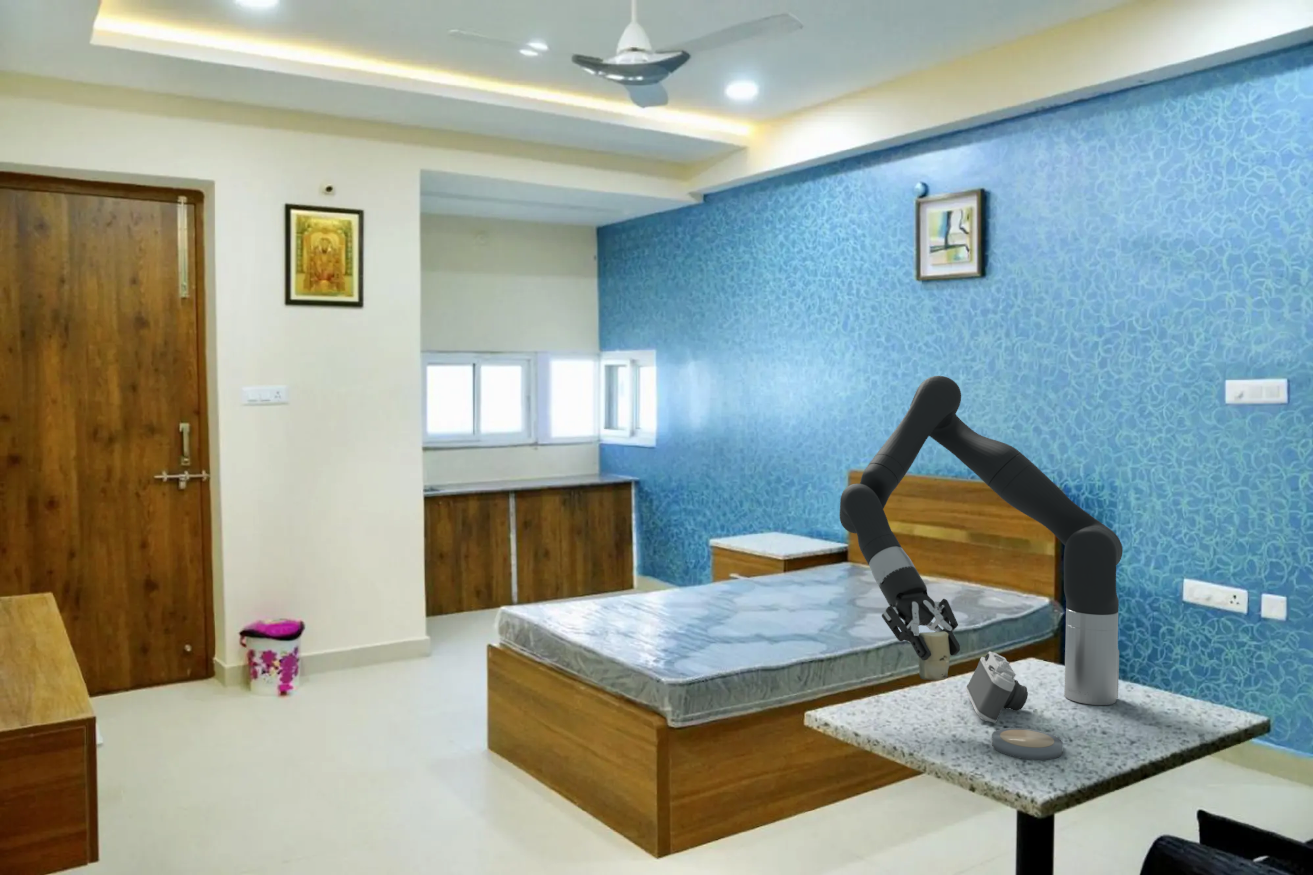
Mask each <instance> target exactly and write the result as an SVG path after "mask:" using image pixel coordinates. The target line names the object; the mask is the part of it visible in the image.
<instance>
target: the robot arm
mask: <svg viewBox="0 0 1313 875" xmlns="http://www.w3.org/2000/svg"><path fill="white" fill-rule="evenodd" d="M961 402H962V391H961V388H960V387H959V385H958V384H957V382H955V381H954V380H953V379H952V378H950V377H949V376H948V377H947V376H943V375H934V376H930V377H928V378H925V380H923V381H922V382H921V383H920V385H919V386H918V387H917V389H916V391H915V394H914V396H913V398H912V400H911V403H910V406H909V408H908V410H907V412H906V413H905V415H904V417H903V418H902V419H901V421H900V423H899V424H898V426H897V427H896V429H894V431H893V432H892V433H891V435H890V436H889V437H888V439H887V440H886V441H885V443H884V444H883V445H882V446H881V447H880V448H879V450H878V451H877V452H876V454H875V455H874V456H873V457H872V459H871V460H870V462H869V463H868V464H867V465H866V467H865V469H864V471H863V472H862V475H861V477H860V478H861V479H860V482H859V483H853V484H849V485H848V486H846V488H845V489H844V490H843V491H842V493H841V495H840V501H839V502H840V503H839V521H840V524H841V526H842V527H843V528H844V529H845V530H846V532H849V533H850V534H851V533H853V534H856V535H857V542H858V543H857V544H858V547H859V550H860V552H861V553H862V556H863V558H864V559H865V561H866V563H867V565H868V567H869V569H870V571H871V573H872V576H873V578H874V580H875V581H876V584H877V586H878V588H879V589H880V591H881V593H882V595H883V597H884V599H885V601H886V602H887V604H888V606H887V608H885V610H884V611H883V612H882V614H881V617H882V619H883V621H884V622H885V624H886V625H887V626H888V627H889V630H890V631H891V632H892V633H893V635H894V636H895V638H896V640H897V641H899V642H904V641H906V642H907V643H909V644H911V646H912V648H913V649H914V652H915V653H916V655H917V657H918V656H919V657H920V658H921V659H922V660H927V659H928V658H929V657H930V656H931V652H930V650H929V648H928V646H927V645H926V643H925V641H924V639H923V638H922V636H919V633H920V630H919V629H920V628H919V627H920V626H923V627H926V628H927V629H928V630H930V631H933V632H942V631H944V632H947V633H948V634H949V635H948V641H949V650H950V656H956V655H957V654H958V653H959V652H960V650H961V645H960V643H959V642H958V640H957V637H956V636H955V634H954V633H953V632H954V631H955V630H956V629H957V628H958V626H959V623H958V620H957V619H956V618H957V617H956V616H955V614H954V612H953V610H952V608H951V605H950V603H949V601H948V600H947V599H945V598H942V600H941V601H934V600H933V599H932V598H931V597H930V596H929V594H928V588H927V585H926V583H925V581H924V580H923V577H922V576H921V575H920V573H919V571H918V570H917V568H916V566H915V565H914V562H913V561H912V560H911V558H910V557H909V555H908V554H907V552H906V551H905V550H904V549H903V547H902V546H901V544H900V542H899V540H898V539H897V537H896V535H895V534H894V532H893V531H892V529H891V527H890V524H889V521H888V518H887V515H886V513H885V510H884V509H885V506H886V504H887V502H888V500H889V498H890V496H891V495H892V493H893V492H894V491H895V489H897V487H898V485H899V484H900V483H901V481H902V480H903V479H904V477H905V476H906V474H907V473H908V471H909V470H910V468H911V466H912V465H913V463H914V462H915V460H916V458H917V456H918V455H919V453H920V451H921V450H922V448H923V446H924V444H925V443H926V442H927V439H928V438H929V437H930V438H931V439H932V440H934V441H935V442H936V443H938V444H939V445H941V446H942V447H943V448H945V449H946V450H947V451H949V453H951V454H952V455H953V456H954V457H956V458H957V459H958V460H959V461H960V462H961V463H963V464H964V465H965V467H967V468H969V469H970V470H971V471H972V472H973V473H974V474H975V475H976V476H977V477H979V479H981V480H982V481H983V482H984V484H986V485H987V486H988V487H989V488H990V489H991V491H993V492H994V493H996V495H997V496H999V498H1001V499H1002V500H1003V501H1005V502H1006V503H1007V504H1008V505H1009V506H1011V507H1012V508H1014V509H1016V510H1017V511H1019V512H1021V513H1022V514H1024V515H1025V516H1027V517H1029V518H1030V519H1033V520H1034V521H1036V522H1038V523H1039V524H1040V525H1043V526H1044V527H1045V528H1046V529H1047V530H1048V531H1050V532H1051V533H1052V534H1053V535H1054V536H1055V537H1056V538H1057V539H1058V540H1060V542H1061V543H1062V544H1063V545H1064V551H1063V591H1064V595H1065V601H1066V602H1065V606H1066V608H1065V610H1066V611H1065V643H1064V644H1065V648H1064V650H1065V652H1064V688H1063V689H1064V692H1063V693H1064V697H1065V698H1066V699H1067V700H1070V701H1073V702H1076V703H1080V704H1085V705H1093V706H1106V705H1107V706H1108V705H1112V704H1116V703H1117V699H1118V698H1119V681H1120V680H1119V679H1120V677H1119V676H1120V675H1119V674H1120V670H1119V669H1120V650H1119V648H1118V647H1119V646H1118V645H1119V605H1120V603H1119V601H1120V599H1119V597H1118V594H1117V565H1118V564H1120V561H1121V560H1122V557H1123V550H1124V549H1123V546H1122V542H1121V540H1120V538H1119V536H1118V535H1117V534H1116V533H1115V532H1114V531H1113V530H1112V529H1111V528H1109V527H1108V526H1107V525H1105V524H1104V523H1102V522H1100V521H1099V520H1098V519H1097V518H1095V517H1094V516H1092V515H1091V514H1090V513H1088V512H1087V511H1085V510H1084V509H1083V508H1081V507H1080V506H1078V504H1076V503H1075V502H1074V501H1073V500H1072V499H1071V498H1070V497H1069V496H1067V495H1066V494H1065V492H1064V491H1062V490H1061V489H1060V488H1059V487H1058V485H1057V484H1056V483H1054V481H1053V480H1051V479H1050V478H1049V477H1048V476H1047V475H1046V474H1045V473H1044V472H1043V471H1042V470H1040V468H1039V467H1038V466H1036V465H1035V464H1034V462H1032V461H1031V460H1030V459H1029V458H1028V457H1026V456H1025V455H1024V454H1023V453H1022V452H1021V451H1019V449H1017V448H1016V447H1014V446H1012V445H1009V444H1007V443H1004V442H1002V441H1001V440H996V439H993V438H989V437H987V436H983V435H981V434H979V433H977V431H975V430H973V429H972V428H971V427H969V426H968V425H967V424H966V423H965V422H964V421H963V420H962V419H960V417H959V416H958V415H957V411H958V410H959V408H960V405H961ZM933 620H934V621H933ZM932 621H933V622H932Z"/></svg>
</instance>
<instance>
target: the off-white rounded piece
mask: <svg viewBox="0 0 1313 875" xmlns="http://www.w3.org/2000/svg"><path fill="white" fill-rule="evenodd" d="M948 635H949V634H948V633H947V632H944V631H942V632H935V631H931V632H930V631H929V632H924V631H923V632H919V636H922V638H923V639H924V641H925V643H926V645H927V646H928V648H929V650H930V652H931V656H930V657H929V658H928V659H927V660H922V659H921V658H920V657H919V656H918V655H917V657H918V658H917V659H918V673H919V678H920V679H921V680H925V681H943V680H946V679H947V678H949V676H948V672H949V668H950V662H951V661H950V659H951V655H950V650H949V641H948Z"/></svg>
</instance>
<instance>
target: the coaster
mask: <svg viewBox="0 0 1313 875" xmlns="http://www.w3.org/2000/svg"><path fill="white" fill-rule="evenodd" d="M991 746H992V748H993V749H994V750H996V751H997V752H999V753H1001V754H1003V755H1005V756H1006V755H1007V756H1010V757H1012V758H1018V759H1023V760H1034V761H1047V760H1054V759H1058V758H1059V757H1062V755H1063V753H1064V752H1063V751H1064V748H1063V746H1064V743H1063V740H1062V739H1061V738H1060V737H1058V736H1056V735H1053V734H1051V733H1049V732H1046V731H1041V730H1038V729H1037V730H1036V729H1032V728H1021V727H1007V728H1000V729H996V730H995V731H993V732H992V733H991Z"/></svg>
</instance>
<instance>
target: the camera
mask: <svg viewBox="0 0 1313 875" xmlns="http://www.w3.org/2000/svg"><path fill="white" fill-rule="evenodd" d="M1015 676H1016V673H1015V671H1014V669H1013V668H1012V666H1011V665H1010V662H1009V661H1007V658H1006V657H1004V656H1002V655H1000V654H998V653H997V652H992V651H988V652H987V653H986V655H985V656H981V657H980V659H979V661H978V663H977V667H976V668H975V670H974V672H973V674H972V676H971V678H970V680H969V682H968V683H967V685H966V686H965V692H966V694H967V696H968V698H969V700H970V702H971V704H972V706H973V709H974V711H975V713H976V714H977V715H978V717H979V718H980V719H981V720H983V721H985V722H988V723H989V722H991V723H993V724H996V723H997V720H998V719H999V716H1000V715H1001V712H1002V711H1003V709H1004V710H1006V709H1010V710H1011V711H1013V712H1018V711H1019V710H1021V709H1023V708H1024V706H1025V704H1026V703H1027V700H1028V696H1029V693H1028V692H1029V691H1028V688H1027V686H1025V685H1022V684H1020V683H1019V681H1018V680H1017V679H1015Z"/></svg>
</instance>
